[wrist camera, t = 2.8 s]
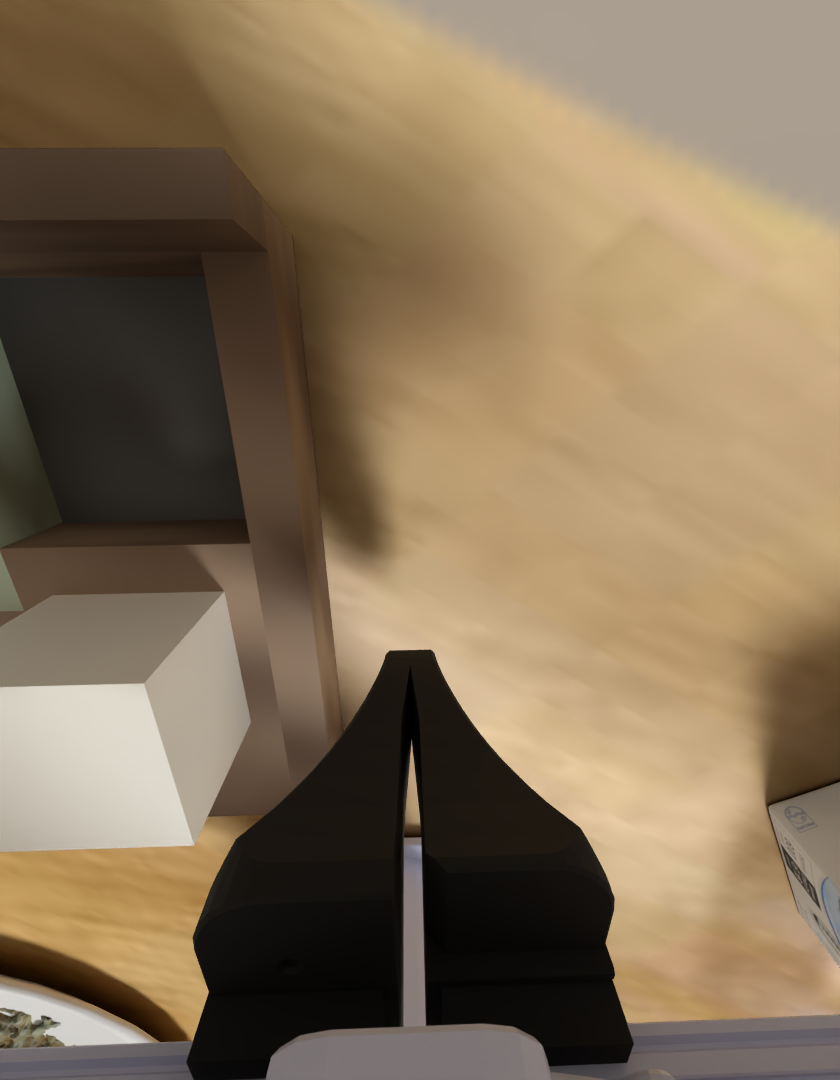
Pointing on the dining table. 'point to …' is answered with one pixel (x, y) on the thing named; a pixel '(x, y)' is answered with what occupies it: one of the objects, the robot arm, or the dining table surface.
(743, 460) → the dining table surface
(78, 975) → the dining table surface
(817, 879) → the light bulb box
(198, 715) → the cream block
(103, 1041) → the plated food
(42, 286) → the brown wooden tray
